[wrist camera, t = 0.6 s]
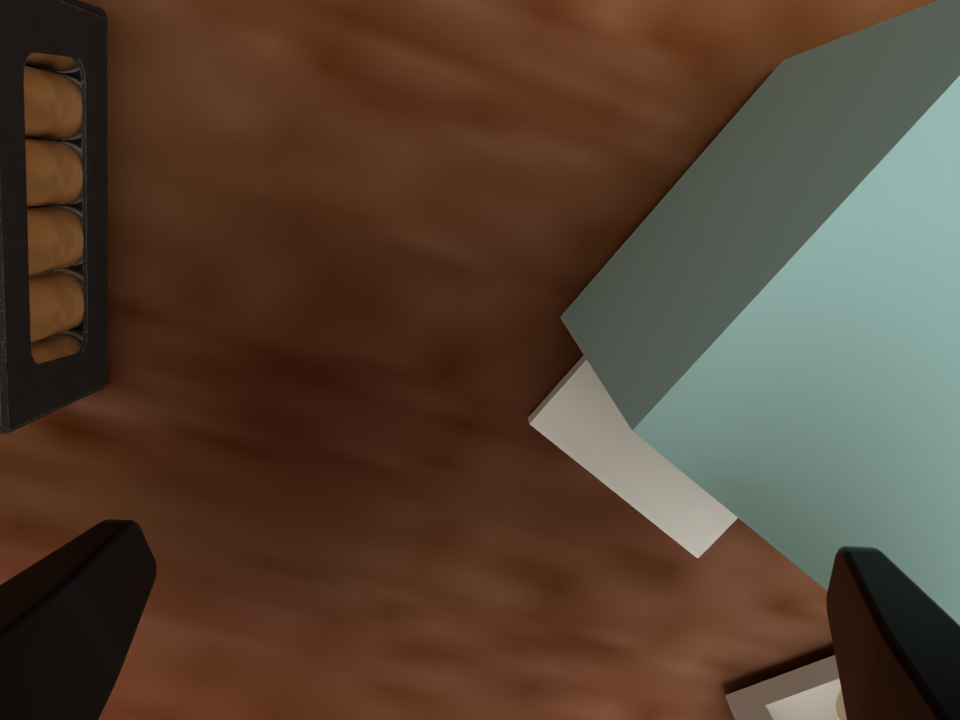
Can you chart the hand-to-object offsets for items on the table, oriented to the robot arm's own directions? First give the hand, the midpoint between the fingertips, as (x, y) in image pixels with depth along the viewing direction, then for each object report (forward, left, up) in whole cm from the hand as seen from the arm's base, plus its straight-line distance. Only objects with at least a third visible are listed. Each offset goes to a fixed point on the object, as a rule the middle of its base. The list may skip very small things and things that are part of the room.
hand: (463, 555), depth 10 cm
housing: (0, -9, -12) cm, 16 cm away
